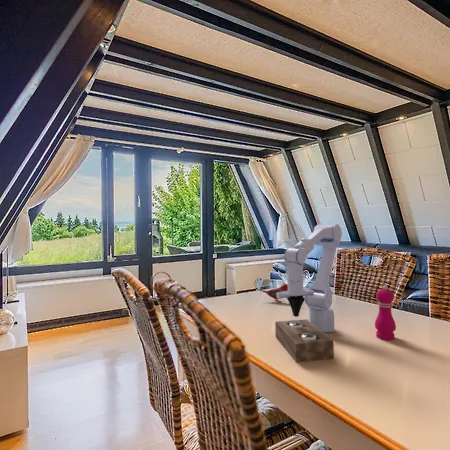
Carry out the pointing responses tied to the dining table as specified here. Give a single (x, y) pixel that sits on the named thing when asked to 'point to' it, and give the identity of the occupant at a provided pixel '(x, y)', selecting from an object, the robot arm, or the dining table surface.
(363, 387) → the dining table surface
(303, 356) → the housing
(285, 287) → the decorative bird figurine
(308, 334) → the knob
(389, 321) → the pepper mill
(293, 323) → the knob
